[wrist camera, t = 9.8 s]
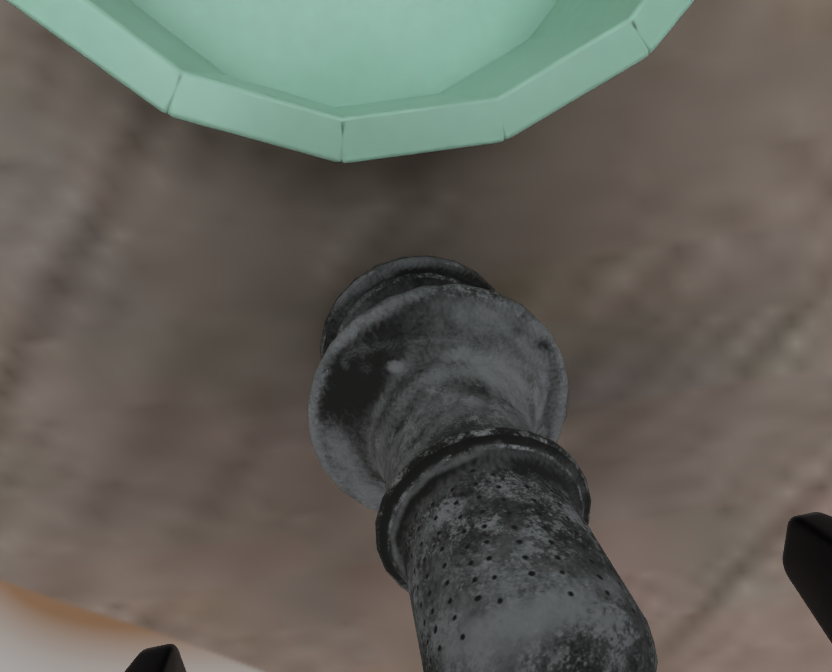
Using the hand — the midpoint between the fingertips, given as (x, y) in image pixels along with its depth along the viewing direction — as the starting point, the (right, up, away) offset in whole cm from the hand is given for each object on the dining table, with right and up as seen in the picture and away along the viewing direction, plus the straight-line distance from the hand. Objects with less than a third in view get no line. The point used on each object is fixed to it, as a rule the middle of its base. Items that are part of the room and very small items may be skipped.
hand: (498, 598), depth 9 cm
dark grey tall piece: (-1, +3, +8) cm, 9 cm away
